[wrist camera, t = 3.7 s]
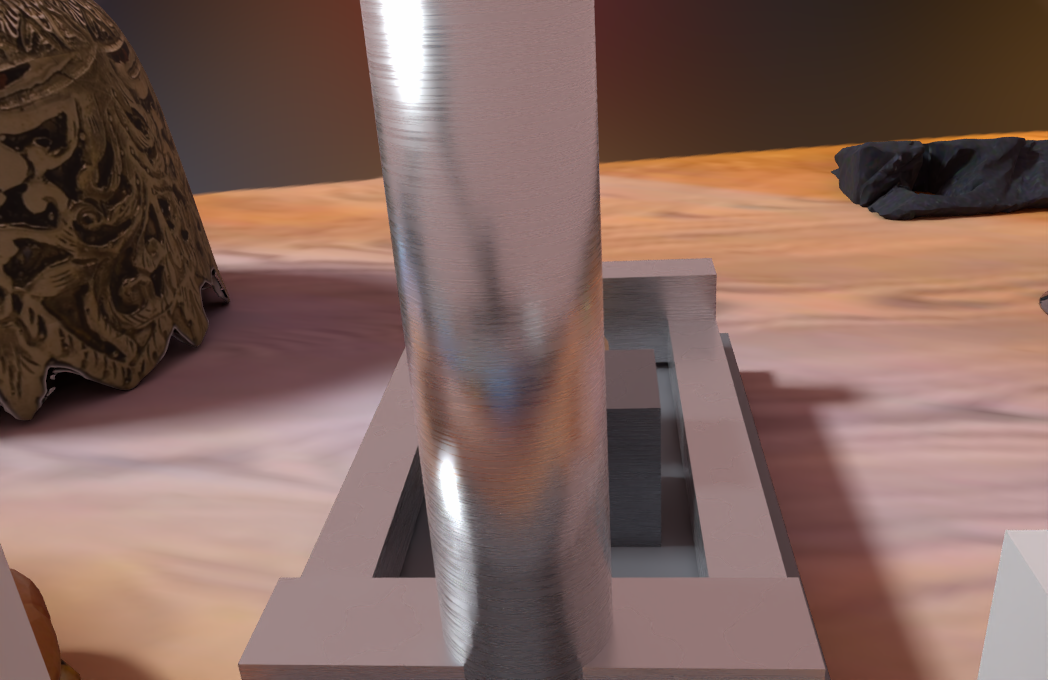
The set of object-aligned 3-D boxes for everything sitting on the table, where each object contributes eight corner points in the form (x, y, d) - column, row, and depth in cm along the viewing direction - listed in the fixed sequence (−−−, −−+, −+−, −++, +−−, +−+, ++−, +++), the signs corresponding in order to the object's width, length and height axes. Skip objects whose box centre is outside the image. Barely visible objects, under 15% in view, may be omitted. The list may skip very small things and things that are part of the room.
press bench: (182, 967, 20) (161, 908, 19) (417, 378, 45) (412, 341, 44) (895, 997, 19) (906, 934, 18) (726, 371, 44) (727, 333, 43)
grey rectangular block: (442, 548, 30) (424, 412, 28) (459, 478, 33) (445, 354, 31) (661, 546, 29) (660, 408, 27) (654, 476, 33) (653, 349, 30)
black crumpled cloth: (1210, 217, 60) (1228, 145, 58) (864, 229, 63) (870, 161, 61) (1098, 160, 74) (1109, 100, 72) (818, 172, 76) (822, 114, 74)
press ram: (247, 795, 21) (-103, -498, 12) (427, 348, 43) (357, -231, 33) (825, 808, 20) (976, -632, 10) (709, 341, 42) (722, -263, 32)
